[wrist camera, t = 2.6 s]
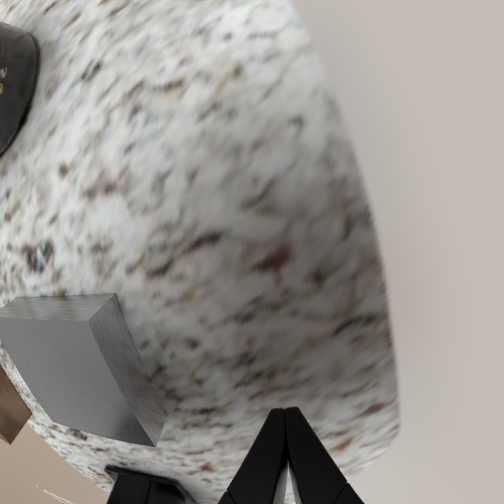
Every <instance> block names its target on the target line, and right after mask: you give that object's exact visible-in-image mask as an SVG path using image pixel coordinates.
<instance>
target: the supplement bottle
mask: <svg viewBox="0 0 504 504" xmlns="http://www.w3.org/2000/svg"><path fill="white" fill-rule="evenodd" d="M36 60H37V57H36V49H35V44H34V42H33V39H32V37H31V36H30V35H29V34H28V33H27V32H26V31H24V30H22V29H20V28H17V27H14V26H11V25H9V24H6V23H2V22H0V154H1V153H2V152H3V151H4V149H5V148H6V147H7V146H8V144H9V143H10V141H11V140H12V138H13V137H14V135H15V133H16V131H17V129H18V127H19V125H20V123H21V121H22V119H23V116H24V114H25V111H26V109H27V106H28V103H29V100H30V97H31V93H32V89H33V85H34V80H35V73H36Z"/></svg>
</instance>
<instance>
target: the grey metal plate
mask: <svg viewBox="0 0 504 504" xmlns="http://www.w3.org/2000/svg"><path fill="white" fill-rule="evenodd" d="M0 338H1V340H2V342H3V344H4V346H5V348H6V350H7V352H8V354H9V355H10V357H11V359H12V361H13V363H14V364H15V366H16V368H17V370H18V371H19V373H20V375H21V376H22V378H23V380H24V381H25V383H26V384H27V386H28V387H29V389H30V391H31V392H32V394H33V395H34V397H35V398H36V399H37V401H38V402H39V404H40V405H41V407H42V408H43V409H44V411H45V412H46V413H47V415H48V416H49V417H50V419H51V420H52V421H53V422H55V423H58V424H61V425H64V426H67V427H70V428H73V429H77V430H80V431H83V432H87V433H90V434H94V435H98V436H102V437H106V438H110V439H115V440H119V441H124V442H129V443H134V444H140V445H146V446H152V447H156V445H157V442H158V439H159V437H160V434H161V431H162V428H163V425H164V422H165V420H166V417H167V415H166V413H165V411H164V409H163V407H162V405H161V403H160V401H159V399H158V397H157V395H156V393H155V391H154V389H153V387H152V385H151V383H150V381H149V378H148V376H147V374H146V372H145V370H144V367H143V365H142V363H141V360H140V358H139V356H138V353H137V351H136V349H135V346H134V344H133V341H132V339H131V336H130V333H129V331H128V328H127V326H126V323H125V320H124V317H123V315H122V312H121V309H120V306H119V303H118V300H117V297H116V294H115V293H111V294H94V295H74V296H51V297H21V298H15V299H13V300H12V301H10V302H9V303H8V304H6V305H5V306H4V307H2V308H1V309H0Z"/></svg>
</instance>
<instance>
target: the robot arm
mask: <svg viewBox="0 0 504 504" xmlns="http://www.w3.org/2000/svg"><path fill="white" fill-rule="evenodd" d="M288 465H289V472H290V477H291V482H292V487H293V492H294V497H295V502H296V504H364V502H363V501H362V500H361V499H360V497H359V496H358V495H357V493H356V492H355V491H354V490H353V488H352V487H351V485H350V484H349V483H347V480H346V478H345V477H344V475H343V474H342V473H341V471H340V470H339V468H338V467H337V465H336V464H335V462H334V461H333V459H332V458H331V456H330V455H329V453H328V452H327V450H326V449H325V447H324V446H323V444H322V443H321V441H320V440H319V438H318V437H317V435H316V434H315V432H314V431H313V429H312V428H311V426H310V424H309V423H308V421H307V420H306V418H305V417H304V415H303V414H302V412H301V410H300V409H299V408H298V407H287V408H285V409H284V408H274V409H271V411H270V412H269V414H268V416H267V418H266V420H265V422H264V424H263V426H262V428H261V430H260V432H259V434H258V436H257V437H256V439H255V441H254V443H253V445H252V447H251V448H250V450H249V452H248V454H247V456H246V457H245V459H244V461H243V463H242V464H241V466H240V468H239V470H238V471H237V473H236V475H235V476H234V478H233V480H232V481H231V483H230V485H229V486H228V488H227V491H226V492H225V493H224V494H223V496H222V497H221V499H220V501H219V502H218V503H217V504H284V498H285V490H286V482H287V473H288ZM104 471H105V472H106V473H107V474H108V475H109V476H110V477H111V478H112V479H113V480H114V481H115V483H114V485H113V488H112V490H111V493H110V495H109V498H108V501H107V503H106V504H196V503H195V502H194V501H193V500H192V499H191V497H190V496H189V495H188V494H187V493H186V492H185V491H184V490H183V489H182V487H181V486H180V485H179V484H178V483H177V482H175V481H172V480H167V479H161V478H155V477H150V476H145V475H140V474H136V473H132V472H127V471H123V470H120V469H116V468H112V467H109V466H106V467H105V469H104Z"/></svg>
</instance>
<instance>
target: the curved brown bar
mask: <svg viewBox="0 0 504 504" xmlns="http://www.w3.org/2000/svg"><path fill="white" fill-rule="evenodd" d="M31 415H32V413H31V411H30V410H29V409H28V407H27V406H26V404H25V403H24V402H23V400H22V399H21V397H20V396H19V394H18V393H17V391H16V390H15V388H14V387H13V385H12V384H11V382H10V381H9V379H8V377H7V376H6V374H5V372H4V371H3V369H2V367H1V365H0V438H1V439H3V440H4V441H5V442H7V443H9V444H11V443H12V442H13V440H14V439H15V438H16V436H17V435H18V433H19V432H20V430H21V429H22V428H23V426H24V425H25V423H26V422H27V421H28V419H29V418H30V416H31Z"/></svg>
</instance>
